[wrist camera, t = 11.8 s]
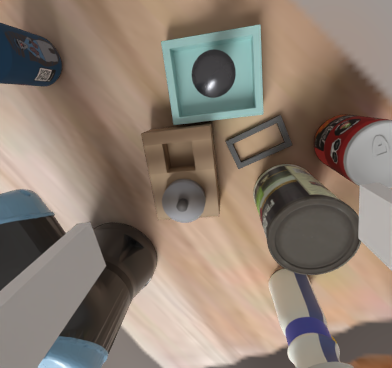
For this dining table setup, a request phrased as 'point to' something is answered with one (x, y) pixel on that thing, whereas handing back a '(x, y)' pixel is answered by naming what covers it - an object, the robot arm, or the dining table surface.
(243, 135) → the gray rectangular frame
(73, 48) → the dining table surface
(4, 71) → the soda can
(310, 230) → the coffee can
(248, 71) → the tray
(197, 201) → the block
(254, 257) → the dining table surface
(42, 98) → the dining table surface
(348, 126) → the canned food
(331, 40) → the dining table surface
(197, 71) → the pin
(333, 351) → the water bottle
